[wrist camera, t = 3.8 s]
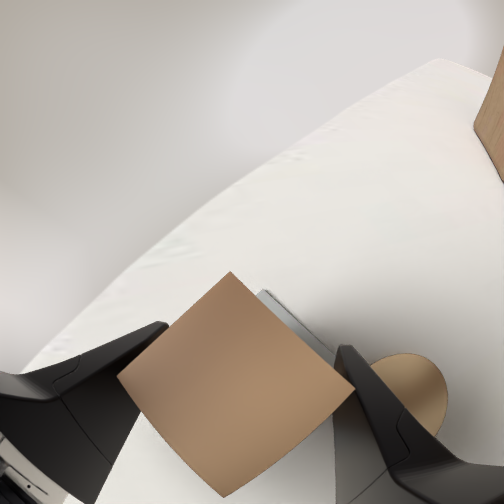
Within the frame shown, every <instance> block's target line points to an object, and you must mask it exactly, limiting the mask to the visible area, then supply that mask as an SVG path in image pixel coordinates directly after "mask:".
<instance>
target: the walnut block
mask: <svg viewBox="0 0 504 504" xmlns="http://www.w3.org/2000/svg"><path fill="white" fill-rule="evenodd" d="M117 378H118V379H119V381H120V382H121V384H122V385H123V387H124V388H125V389H126V391H127V392H128V394H129V395H130V397H131V398H132V399H133V401H134V402H135V404H136V405H137V406H138V408H139V409H140V410H141V412H142V413H143V414H144V415H145V417H146V418H147V419H148V421H149V422H150V423H151V424H152V426H153V427H154V428H155V429H156V430H157V432H158V433H159V434H160V435H161V436H162V438H163V439H164V440H165V441H166V442H167V443H168V444H169V446H170V447H171V448H172V449H173V450H174V451H175V452H176V453H177V454H178V455H179V456H180V458H181V459H182V460H183V461H184V462H185V463H186V464H187V465H188V466H189V467H190V468H191V469H192V470H193V471H194V472H195V473H196V474H197V475H198V476H199V477H200V478H202V479H203V480H204V481H205V482H206V483H207V484H208V485H209V486H210V487H211V488H212V489H214V490H215V491H216V492H217V493H218V494H219V495H220V496H222V497H223V498H224V497H226V496H228V495H229V494H231V493H233V492H234V491H236V490H237V489H239V488H240V487H242V486H244V485H245V484H247V483H248V482H250V481H251V480H252V479H254V478H255V477H257V476H258V475H260V474H261V473H262V472H264V471H265V470H266V469H268V468H269V467H270V466H272V465H273V464H274V463H276V462H277V461H278V460H280V459H281V458H282V457H283V456H285V455H286V454H287V453H288V452H290V451H291V450H292V449H293V448H294V447H296V446H297V445H298V444H299V443H300V442H301V441H303V440H304V439H305V438H306V437H307V436H308V435H309V434H311V433H312V432H313V431H314V430H315V429H316V428H317V427H318V426H319V425H320V424H321V423H322V422H323V421H324V420H326V419H327V418H328V417H329V416H330V415H331V414H332V413H333V412H334V411H335V410H336V409H337V408H338V407H339V406H340V405H341V404H342V402H343V401H344V400H345V399H346V398H347V397H348V396H349V395H350V394H351V393H352V392H353V391H354V390H355V388H354V387H353V386H352V385H351V384H350V383H349V382H348V381H347V380H345V379H344V378H343V377H342V376H341V375H340V374H339V373H338V372H337V371H335V370H334V369H333V368H332V367H331V366H330V365H329V364H328V363H327V362H325V361H324V360H323V359H322V358H321V357H320V356H319V355H318V354H317V353H316V352H315V351H313V350H312V349H311V348H310V347H309V346H308V345H307V344H306V343H305V342H304V341H303V340H302V339H300V338H299V337H298V336H297V335H296V334H295V333H294V332H293V331H292V330H291V329H290V328H289V327H288V326H287V325H286V324H284V323H283V322H282V321H281V320H280V319H279V318H278V317H277V316H276V315H275V314H274V313H273V312H272V311H271V310H270V309H269V308H268V307H267V306H265V305H264V304H263V303H262V302H261V301H260V300H259V299H258V298H257V297H256V296H255V295H254V294H253V293H252V292H251V291H250V290H249V289H248V288H247V287H246V286H245V285H244V284H243V283H242V282H241V281H240V280H239V279H238V278H237V277H236V276H235V275H234V274H233V273H232V272H229V273H228V274H226V275H225V276H224V277H223V278H222V279H221V280H220V281H219V282H218V283H217V284H216V285H215V286H213V287H212V288H211V289H210V290H209V291H208V292H207V293H206V294H205V295H204V296H203V297H202V298H200V299H199V300H198V301H197V302H196V303H195V304H194V305H193V306H192V307H191V308H190V309H189V310H187V311H186V312H185V313H184V314H183V315H182V316H181V317H180V318H179V319H178V320H177V321H176V322H174V323H173V324H172V325H171V326H170V327H169V328H168V329H167V330H166V331H165V332H164V333H162V334H161V335H160V336H159V337H158V338H157V339H156V340H155V341H154V342H153V343H152V344H151V345H149V346H148V347H147V348H146V349H145V350H144V351H143V352H142V353H141V354H140V355H139V356H138V357H136V358H135V359H134V360H133V361H132V362H131V363H130V364H129V365H128V366H127V367H126V368H125V369H123V370H122V371H121V372H120V373H119V374H118V375H117Z"/></svg>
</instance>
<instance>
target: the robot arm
mask: <svg viewBox="0 0 504 504" xmlns="http://www.w3.org/2000/svg"><path fill="white" fill-rule="evenodd" d="M168 328H169V325H168V324H167V323H166V322H161V321H156V322H154V323H152V324H150V325H147V326H145V327H143V328H141V329H138V330H136V331H134V332H131V333H129V334H127V335H125V336H122V337H120V338H118V339H115V340H113V341H111V342H109V343H106V344H104V345H102V346H99V347H97V348H95V349H92V350H90V351H87V352H85V353H83V354H82V355H78V356H76V357H73V358H71V359H68V360H66V361H63V362H60V363H57V364H54V365H51V366H48V367H45V368H42V369H39V370H35V371H32V372H29V373H25V374H19V375H14V374H8V373H5V372H2V371H0V504H63V502H64V500H65V499H66V497H67V496H68V494H71V495H72V496H74V497H75V498H77V499H78V500H80V501H81V502H83V503H84V504H95V502H96V499H97V497H98V495H99V493H100V491H101V489H102V487H103V485H104V483H105V481H106V479H107V477H108V475H109V473H110V471H111V469H112V467H113V465H114V463H115V461H116V459H117V457H118V455H119V453H120V451H121V449H122V447H123V445H124V443H125V441H126V439H127V437H128V435H129V433H130V431H131V429H132V427H133V426H134V424H135V422H136V420H137V418H138V416H139V414H140V412H141V410H140V409H139V408H138V406H137V405H136V404H135V402H134V401H133V399H132V398H131V397H130V395H129V394H128V392H127V391H126V389H125V388H124V387H123V385H122V384H121V382H120V381H119V379H118V378H117V375H118V374H119V373H120V372H121V371H122V370H123V369H125V368H126V367H127V366H128V365H129V364H130V363H131V362H132V361H133V360H134V359H135V358H136V357H138V356H139V355H140V354H141V353H142V352H143V351H144V350H145V349H146V348H147V347H148V346H149V345H151V344H152V343H153V342H154V341H155V340H156V339H157V338H158V337H159V336H160V335H161V334H162V333H164V332H165V331H166V330H167V329H168ZM334 370H335V371H337V372H338V373H339V374H340V375H341V376H342V377H343V378H344V379H345V380H347V381H348V382H349V383H350V384H351V385H352V386H353V387H354V388H355V390H354V391H353V392H352V393H351V394H350V395H349V396H348V397H347V398H346V399H345V400H344V401H343V402H342V404H341V405H340V406H339V407H338V408H337V409H336V410H335V411H334V412H333V428H334V446H335V476H336V504H504V466H490V465H480V464H472V463H468V462H465V461H463V460H461V459H459V458H457V457H456V456H455V455H454V454H452V453H451V452H450V451H449V450H448V449H447V448H446V447H445V446H444V445H443V444H441V443H440V442H439V441H438V440H437V439H436V438H435V437H434V436H433V435H432V434H431V433H430V432H428V431H427V430H426V429H425V428H424V427H423V426H422V425H421V424H420V423H419V421H418V420H417V419H416V418H415V417H414V416H413V415H412V414H411V413H410V411H409V410H408V409H407V408H405V406H404V405H403V403H402V402H401V401H400V400H399V399H398V398H397V396H396V395H395V394H394V393H393V392H392V391H391V390H390V388H389V387H388V386H387V385H386V384H385V383H384V382H383V380H382V379H381V378H380V377H379V376H378V375H377V373H376V372H375V371H374V370H373V369H372V368H371V367H370V365H369V364H368V363H367V362H366V361H365V360H364V359H363V358H362V356H361V355H360V354H359V353H358V352H357V351H356V350H355V348H354V347H353V346H352V345H343V344H341V345H339V347H338V351H337V355H336V358H335V362H334Z"/></svg>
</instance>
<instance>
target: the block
mask: <svg viewBox="0 0 504 504" xmlns="http://www.w3.org/2000/svg"><path fill="white" fill-rule="evenodd" d="M473 127H474V130H475V132H476V133H477V135H478V137H479V138H480V140H481V142H482V143H483V145H484V147H485V148H486V150H487V152H488V154H489V156H490V157H491V159H492V161H493V163H494V165H495V167H496V169H497V171H498V173H499V175H500V177H501V179H502V180H503V181H504V47H503V50H502V54H501V57H500V60H499V63H498V66H497V68H496V71H495V74H494V77H493V79H492V82H491V84H490V87H489V90H488V92H487V94H486V97H485V99H484V101H483V104H482V106H481V108H480V110H479V113H478V115H477V117H476V119H475V121H474V126H473Z"/></svg>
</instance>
